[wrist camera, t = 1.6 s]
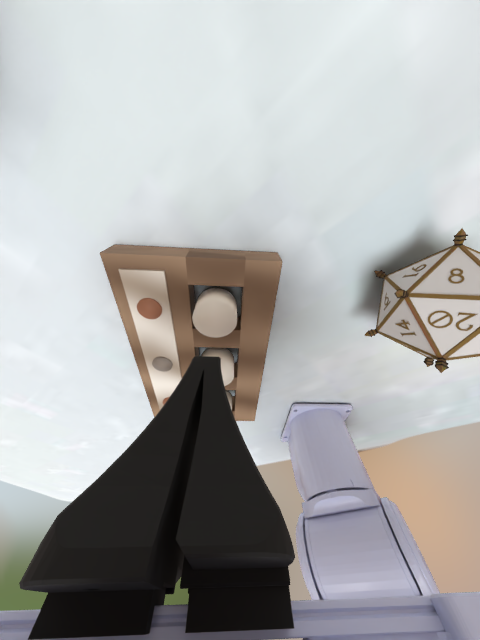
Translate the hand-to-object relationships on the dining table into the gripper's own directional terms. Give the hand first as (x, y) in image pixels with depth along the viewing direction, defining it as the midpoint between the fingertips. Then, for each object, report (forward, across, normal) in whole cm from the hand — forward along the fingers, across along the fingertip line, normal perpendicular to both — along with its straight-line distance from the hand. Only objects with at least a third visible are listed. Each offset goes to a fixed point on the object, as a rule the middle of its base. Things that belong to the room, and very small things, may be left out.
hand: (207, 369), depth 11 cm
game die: (+8, -16, -2) cm, 18 cm away
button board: (+8, +2, +6) cm, 10 cm away
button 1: (+7, 0, 0) cm, 7 cm away
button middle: (+7, 0, +6) cm, 9 cm away
